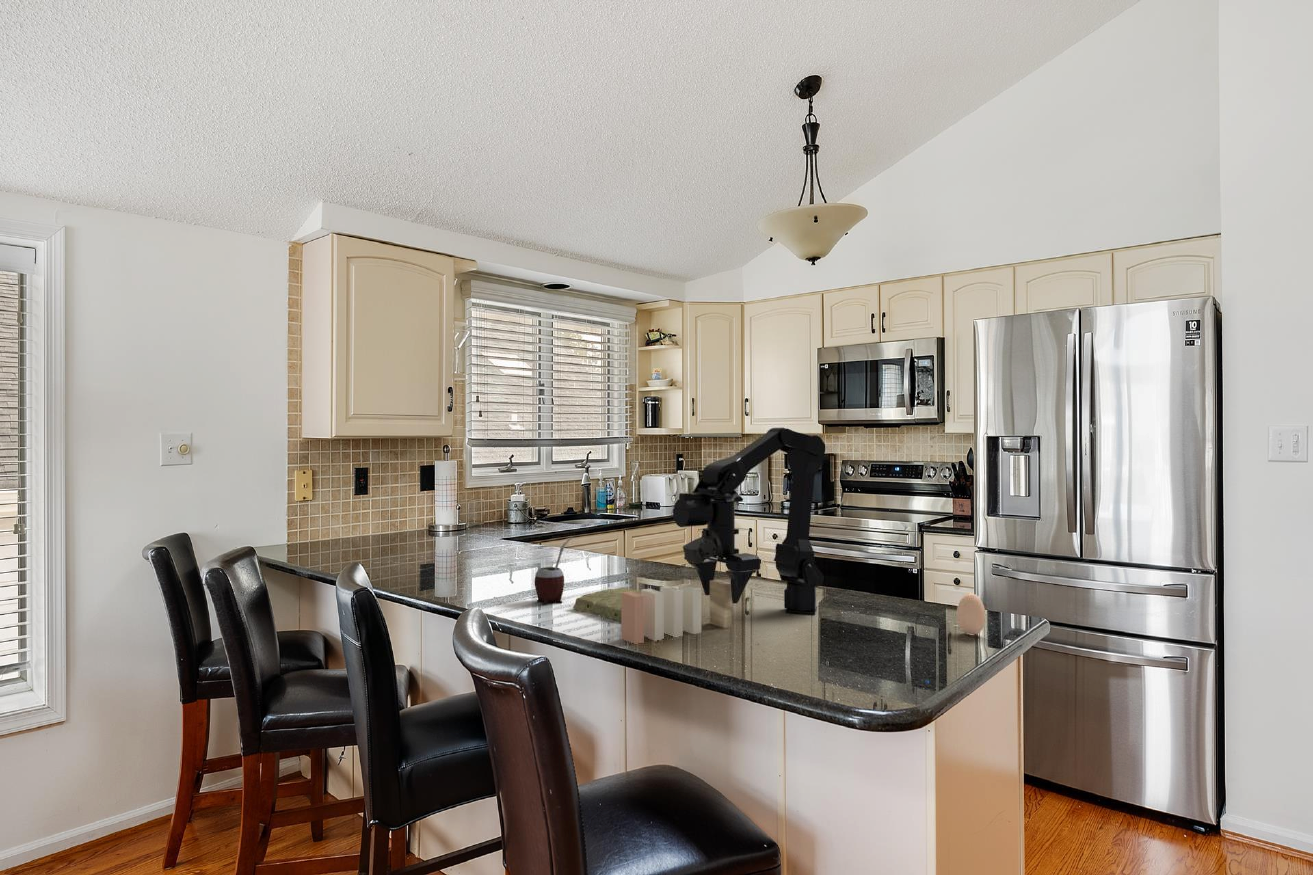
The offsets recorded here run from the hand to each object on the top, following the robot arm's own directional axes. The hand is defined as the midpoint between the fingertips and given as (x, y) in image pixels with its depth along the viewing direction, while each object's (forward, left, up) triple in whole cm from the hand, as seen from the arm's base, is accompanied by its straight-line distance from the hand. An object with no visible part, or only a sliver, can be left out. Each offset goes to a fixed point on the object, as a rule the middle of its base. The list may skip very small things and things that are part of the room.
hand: (721, 599), depth 150 cm
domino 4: (+5, +6, -5) cm, 10 cm away
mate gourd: (+43, -10, -6) cm, 45 cm away
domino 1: (+14, +17, -5) cm, 22 cm away
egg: (-49, -7, -6) cm, 50 cm away
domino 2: (+11, +13, -5) cm, 18 cm away
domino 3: (+8, +10, -5) cm, 14 cm away
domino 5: (0, 0, -5) cm, 5 cm away
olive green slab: (+23, -8, -6) cm, 25 cm away
